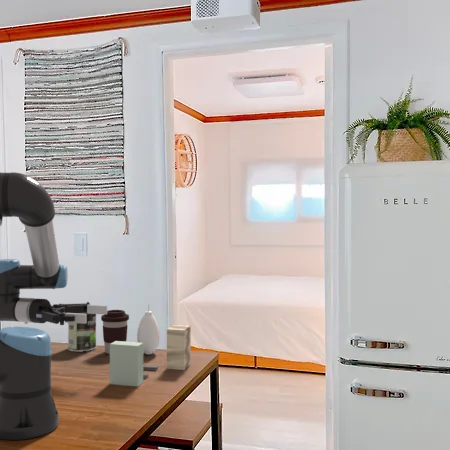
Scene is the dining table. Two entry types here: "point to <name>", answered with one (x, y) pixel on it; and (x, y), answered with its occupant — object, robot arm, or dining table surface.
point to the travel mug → (114, 327)
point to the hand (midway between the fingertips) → (96, 314)
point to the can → (82, 335)
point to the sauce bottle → (148, 333)
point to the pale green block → (126, 363)
